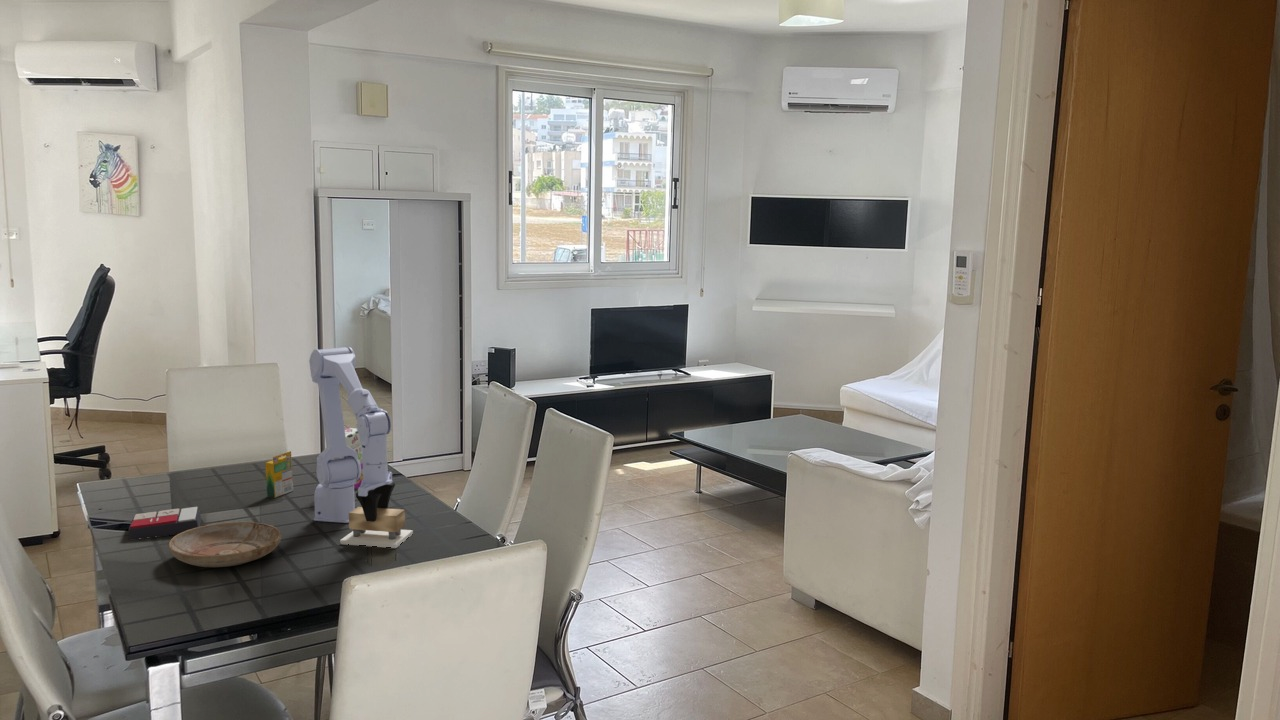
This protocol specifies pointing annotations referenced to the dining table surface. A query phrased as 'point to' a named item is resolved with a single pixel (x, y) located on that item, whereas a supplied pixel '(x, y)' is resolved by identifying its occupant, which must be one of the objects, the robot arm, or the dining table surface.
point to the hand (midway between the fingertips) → (376, 516)
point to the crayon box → (279, 475)
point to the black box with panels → (164, 522)
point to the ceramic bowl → (225, 544)
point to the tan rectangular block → (378, 520)
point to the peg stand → (376, 538)
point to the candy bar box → (354, 443)
